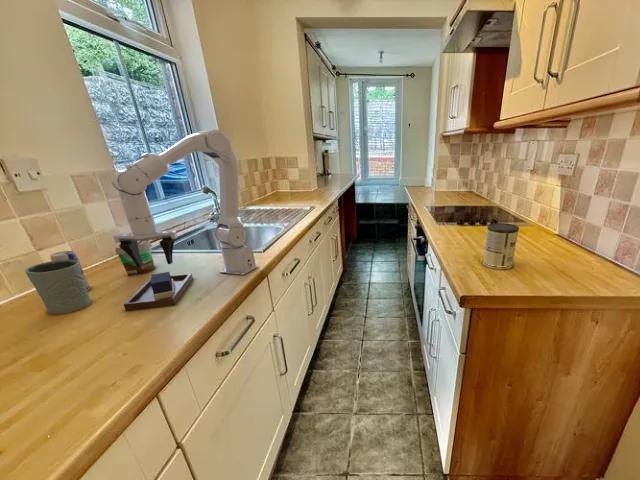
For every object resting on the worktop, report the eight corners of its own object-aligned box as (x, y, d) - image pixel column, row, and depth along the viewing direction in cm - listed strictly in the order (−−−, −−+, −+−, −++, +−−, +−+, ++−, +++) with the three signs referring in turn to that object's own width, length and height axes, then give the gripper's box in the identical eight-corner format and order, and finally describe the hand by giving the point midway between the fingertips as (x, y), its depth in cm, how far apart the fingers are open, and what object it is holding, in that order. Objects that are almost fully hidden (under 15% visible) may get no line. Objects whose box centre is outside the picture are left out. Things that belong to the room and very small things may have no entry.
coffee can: (487, 258, 122) (492, 221, 116) (515, 263, 117) (521, 225, 111) (478, 266, 114) (483, 227, 108) (508, 271, 109) (515, 231, 103)
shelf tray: (193, 278, 104) (191, 273, 103) (174, 305, 87) (172, 298, 86) (153, 282, 101) (151, 277, 101) (125, 311, 84) (123, 304, 83)
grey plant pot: (56, 302, 89) (37, 262, 84) (101, 296, 93) (84, 257, 88) (37, 318, 81) (14, 275, 76) (87, 311, 84) (68, 269, 79)
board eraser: (174, 296, 91) (170, 280, 89) (154, 300, 88) (149, 284, 86) (174, 283, 99) (169, 268, 97) (155, 286, 97) (151, 271, 95)
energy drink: (94, 289, 97) (79, 251, 92) (74, 296, 93) (56, 257, 88) (83, 286, 99) (67, 249, 94) (62, 293, 94) (44, 255, 89)
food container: (142, 277, 106) (132, 248, 102) (124, 277, 106) (113, 248, 102) (166, 264, 117) (158, 238, 113) (150, 264, 117) (141, 238, 113)
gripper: (101, 222, 80) (119, 271, 86) (165, 218, 84) (179, 266, 90) (114, 216, 87) (130, 263, 92) (173, 213, 90) (186, 258, 96)
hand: (155, 264), depth 91 cm, fingers open, 7 cm apart
